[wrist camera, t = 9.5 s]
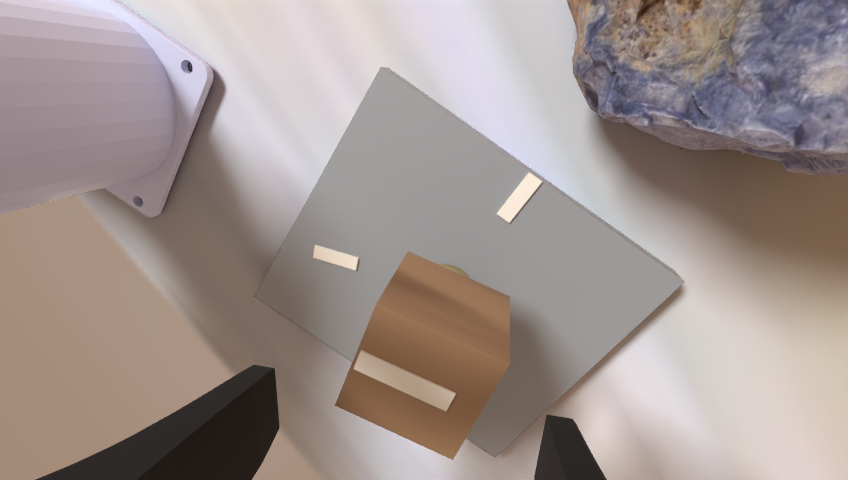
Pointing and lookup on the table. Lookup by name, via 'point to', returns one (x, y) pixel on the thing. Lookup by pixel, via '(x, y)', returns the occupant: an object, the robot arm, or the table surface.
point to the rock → (722, 74)
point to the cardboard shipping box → (429, 355)
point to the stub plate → (462, 250)
